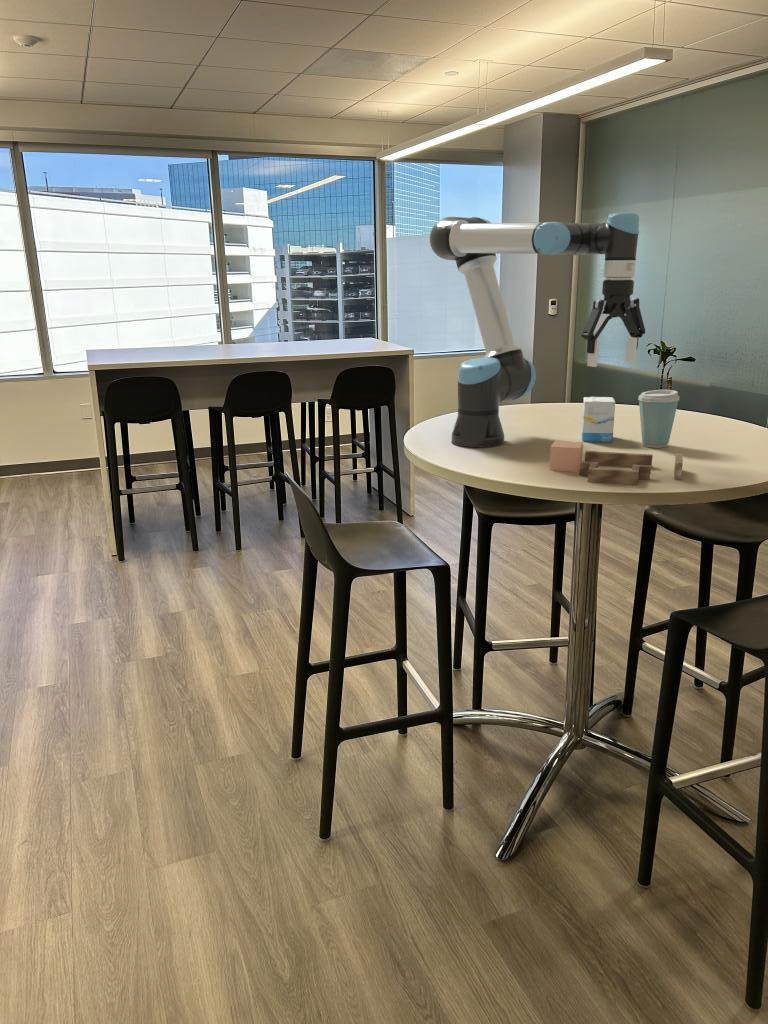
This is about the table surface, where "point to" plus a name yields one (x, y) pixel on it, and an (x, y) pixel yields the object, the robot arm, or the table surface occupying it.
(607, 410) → the ink box
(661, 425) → the disposable coffee cup
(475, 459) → the table surface
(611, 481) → the open wooden frame
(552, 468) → the block
